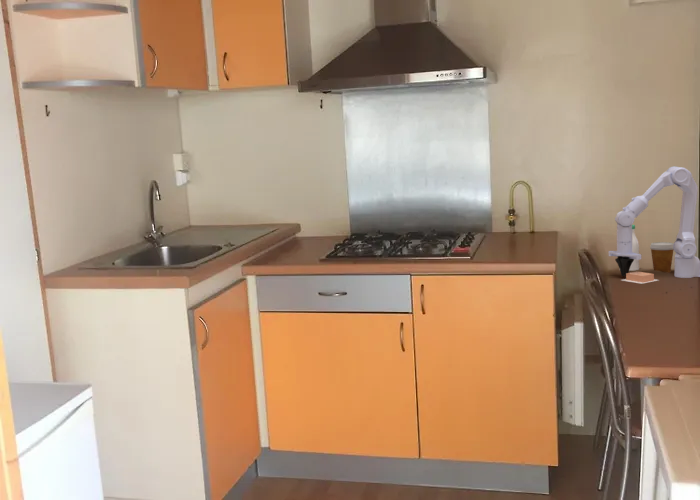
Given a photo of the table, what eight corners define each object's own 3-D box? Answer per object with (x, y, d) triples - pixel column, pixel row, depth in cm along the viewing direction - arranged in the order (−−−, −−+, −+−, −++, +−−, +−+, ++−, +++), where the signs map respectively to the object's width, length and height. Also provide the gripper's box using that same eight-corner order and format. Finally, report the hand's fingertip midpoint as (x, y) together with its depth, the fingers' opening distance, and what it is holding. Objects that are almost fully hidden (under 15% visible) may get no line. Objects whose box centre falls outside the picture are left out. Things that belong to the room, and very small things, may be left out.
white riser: (638, 280, 296) (638, 276, 296) (659, 283, 287) (659, 280, 287) (620, 283, 291) (620, 280, 291) (641, 287, 282) (641, 283, 282)
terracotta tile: (636, 277, 294) (636, 271, 293) (653, 280, 287) (653, 274, 286) (626, 279, 291) (626, 273, 291) (643, 282, 284) (643, 276, 284)
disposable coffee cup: (670, 270, 314) (670, 241, 312) (677, 274, 304) (678, 244, 303) (646, 270, 315) (646, 242, 313) (653, 274, 305) (653, 245, 304)
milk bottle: (640, 274, 309) (640, 225, 306) (620, 274, 310) (620, 226, 307) (637, 270, 316) (637, 223, 313) (618, 271, 318) (618, 224, 315)
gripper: (602, 241, 298) (603, 274, 300) (632, 244, 285) (632, 279, 287) (615, 239, 301) (615, 272, 303) (645, 242, 288) (645, 277, 290)
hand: (624, 275), depth 295 cm, fingers closed
